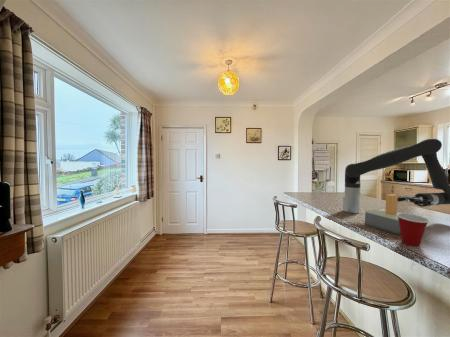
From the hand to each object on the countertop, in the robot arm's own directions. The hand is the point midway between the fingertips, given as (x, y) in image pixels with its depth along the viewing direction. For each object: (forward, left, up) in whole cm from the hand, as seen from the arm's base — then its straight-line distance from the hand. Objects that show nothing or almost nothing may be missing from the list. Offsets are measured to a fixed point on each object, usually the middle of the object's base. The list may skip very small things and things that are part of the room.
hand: (406, 201), depth 118 cm
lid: (0, -11, -8) cm, 14 cm away
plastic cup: (+18, -24, -14) cm, 33 cm away
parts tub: (0, -11, -14) cm, 18 cm away
